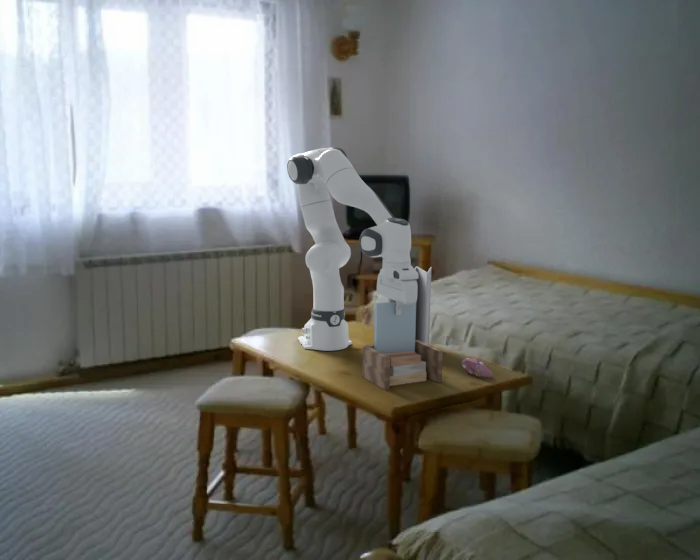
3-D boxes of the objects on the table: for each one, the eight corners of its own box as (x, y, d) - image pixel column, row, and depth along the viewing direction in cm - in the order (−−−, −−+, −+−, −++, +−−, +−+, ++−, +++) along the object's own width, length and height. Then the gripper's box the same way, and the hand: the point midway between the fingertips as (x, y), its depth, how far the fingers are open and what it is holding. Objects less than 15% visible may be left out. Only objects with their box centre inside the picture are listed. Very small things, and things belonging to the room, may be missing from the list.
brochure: (425, 357, 255) (427, 272, 250) (409, 356, 256) (411, 272, 251) (429, 347, 268) (431, 266, 263) (414, 346, 269) (416, 266, 264)
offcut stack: (379, 380, 229) (379, 353, 228) (415, 375, 235) (416, 349, 233) (389, 386, 223) (390, 359, 221) (426, 381, 228) (427, 355, 227)
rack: (362, 376, 232) (362, 345, 231) (416, 369, 241) (417, 339, 239) (384, 390, 219) (385, 357, 217) (441, 382, 227) (442, 350, 226)
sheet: (373, 376, 232) (374, 302, 228) (411, 371, 238) (413, 299, 234) (375, 378, 230) (377, 303, 226) (414, 373, 236) (416, 300, 232)
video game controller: (463, 376, 239) (457, 359, 236) (472, 368, 241) (466, 351, 238) (485, 384, 231) (479, 366, 228) (494, 376, 233) (488, 358, 230)
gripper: (372, 266, 236) (371, 308, 239) (403, 275, 218) (402, 320, 220) (389, 265, 239) (388, 306, 241) (421, 274, 221) (420, 319, 223)
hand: (395, 313), depth 231 cm, fingers closed on sheet, 2 cm apart
